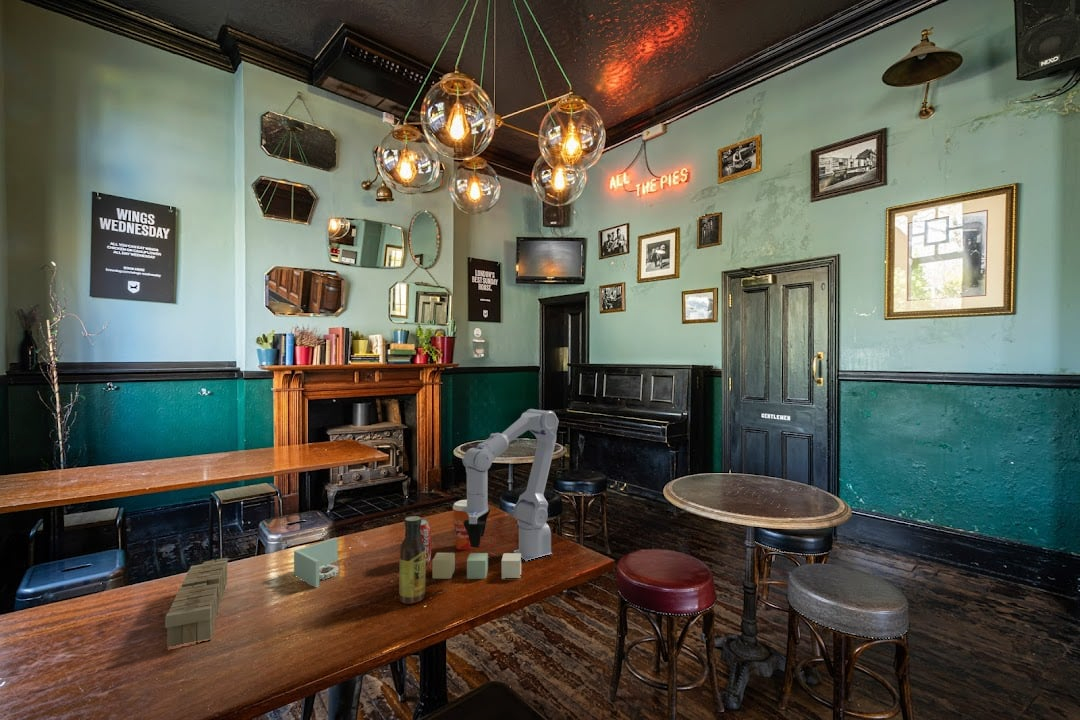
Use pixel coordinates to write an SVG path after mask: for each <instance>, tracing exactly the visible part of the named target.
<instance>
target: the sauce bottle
mask: <svg viewBox="0 0 1080 720" xmlns="http://www.w3.org/2000/svg"><path fill="white" fill-rule="evenodd" d="M421 519H422V517H421V516H419V515H413V516H412V515H411V516H407V517H405V518H404V527H405V528H404V531H405V533H404V539H403V540H402V543H401V545H400V549H399V554H400V555H399V573H398V575H399V577H398V578H399V579H398V580H399V583H398V584H399V587H398V589H399V591H398V592H399V593H398V594H399V600H400V602H401V603H403V604H405V605H406V604H407V605H413V604H417V603H420V602H421V601H422V600H424V598H425V593H426V564H427V563H426V562H425V558H426V549H425V546H424V543H423V540H422V537H421ZM425 563H426V564H425Z"/></svg>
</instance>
